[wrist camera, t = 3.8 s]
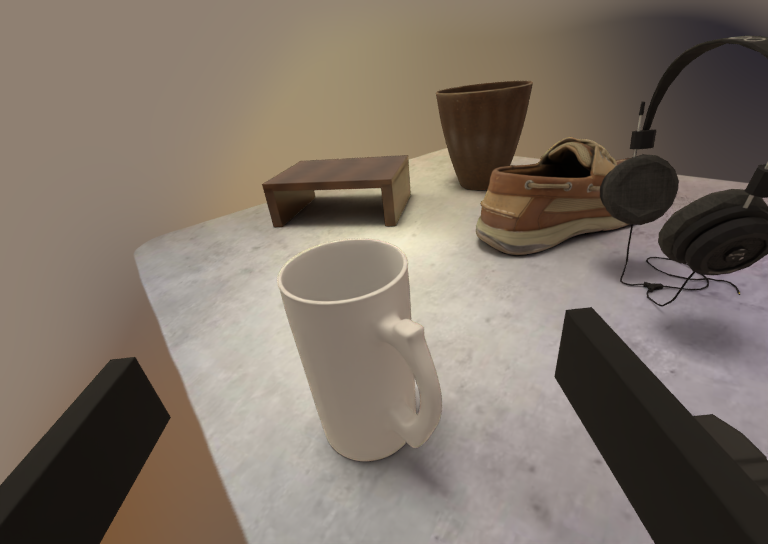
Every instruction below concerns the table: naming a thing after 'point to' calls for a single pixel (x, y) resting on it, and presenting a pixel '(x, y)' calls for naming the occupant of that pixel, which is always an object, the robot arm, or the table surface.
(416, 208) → the table surface
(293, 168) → the walnut shelf
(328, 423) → the mug
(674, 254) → the headphones
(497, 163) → the flower pot
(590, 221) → the boat shoe
